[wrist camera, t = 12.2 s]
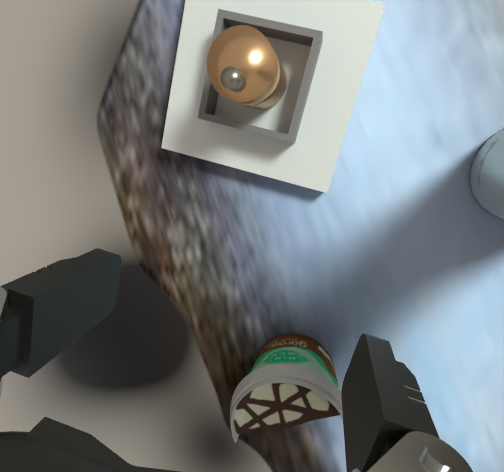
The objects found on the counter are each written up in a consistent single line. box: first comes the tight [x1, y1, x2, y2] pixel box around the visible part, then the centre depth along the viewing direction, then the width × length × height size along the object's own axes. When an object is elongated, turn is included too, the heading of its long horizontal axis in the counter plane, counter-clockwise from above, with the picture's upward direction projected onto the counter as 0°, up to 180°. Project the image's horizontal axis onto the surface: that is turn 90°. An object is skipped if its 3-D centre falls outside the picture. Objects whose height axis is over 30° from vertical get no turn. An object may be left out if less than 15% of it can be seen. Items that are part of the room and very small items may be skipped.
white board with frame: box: [161, 0, 386, 193], centre depth 33 cm, size 18×17×5 cm
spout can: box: [207, 25, 287, 110], centre depth 29 cm, size 5×5×11 cm
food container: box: [230, 334, 343, 443], centre depth 38 cm, size 12×6×10 cm, turn 112°
